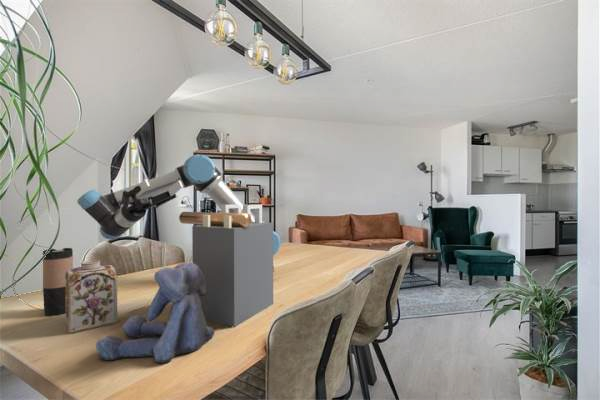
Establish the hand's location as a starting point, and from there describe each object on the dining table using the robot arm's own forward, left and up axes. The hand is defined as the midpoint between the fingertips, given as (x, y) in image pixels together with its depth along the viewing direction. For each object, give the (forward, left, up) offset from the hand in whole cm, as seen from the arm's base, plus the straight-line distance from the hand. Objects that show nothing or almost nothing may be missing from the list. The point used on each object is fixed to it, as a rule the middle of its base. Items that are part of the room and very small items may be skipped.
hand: (165, 183), depth 105 cm
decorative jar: (+20, -7, -42) cm, 47 cm away
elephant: (+20, +22, -42) cm, 51 cm away
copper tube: (-1, +20, -14) cm, 25 cm away
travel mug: (+20, -25, -42) cm, 53 cm away
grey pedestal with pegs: (-6, +25, -42) cm, 49 cm away
